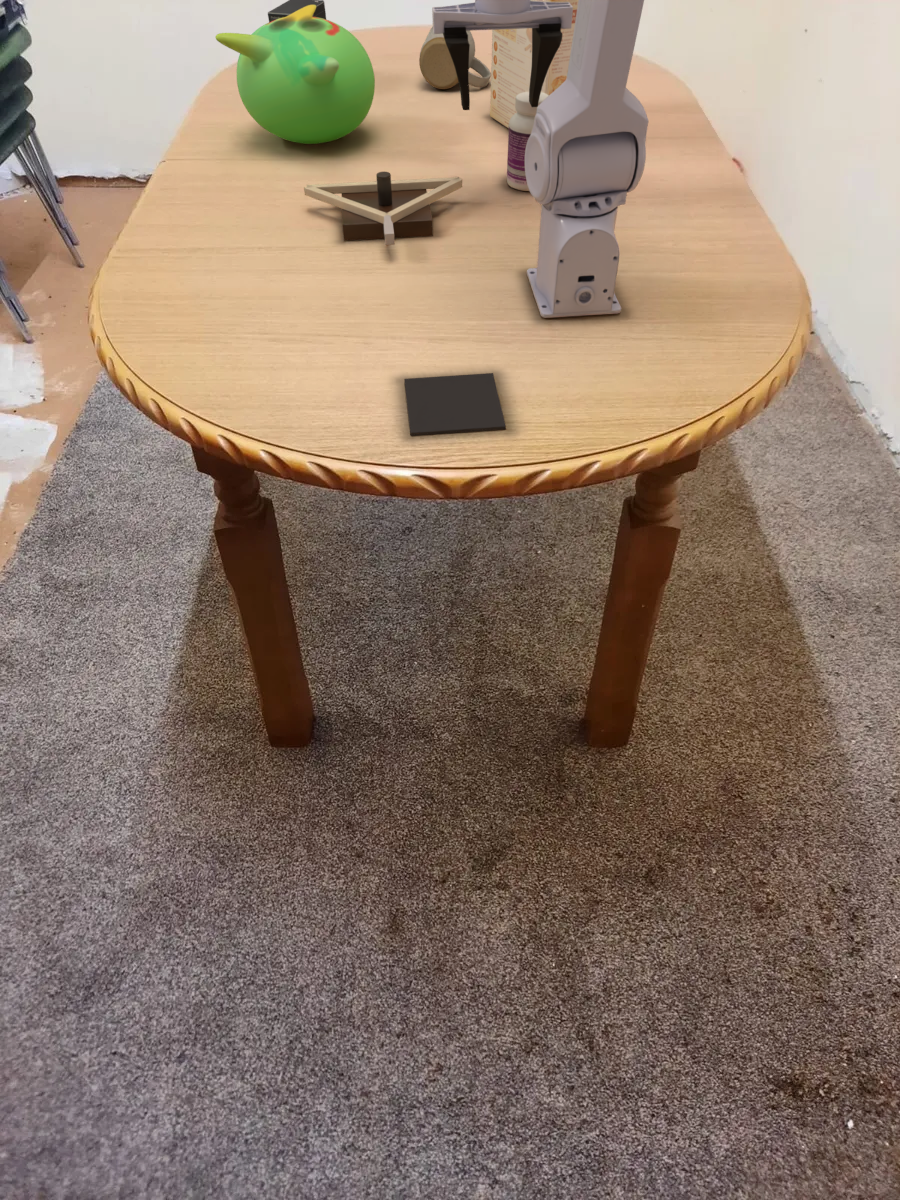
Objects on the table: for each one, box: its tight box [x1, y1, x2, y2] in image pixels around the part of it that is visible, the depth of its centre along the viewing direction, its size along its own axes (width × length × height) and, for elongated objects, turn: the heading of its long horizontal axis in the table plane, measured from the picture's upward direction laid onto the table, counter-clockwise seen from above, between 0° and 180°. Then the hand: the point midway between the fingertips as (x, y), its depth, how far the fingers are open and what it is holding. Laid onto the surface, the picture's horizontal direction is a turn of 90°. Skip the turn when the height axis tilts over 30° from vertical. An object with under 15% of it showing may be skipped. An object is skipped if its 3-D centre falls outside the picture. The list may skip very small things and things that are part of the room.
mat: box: [404, 372, 507, 436], centre depth 71 cm, size 8×8×1 cm
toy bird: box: [215, 5, 376, 145], centre depth 107 cm, size 18×17×15 cm
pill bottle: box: [506, 92, 549, 192], centre depth 99 cm, size 5×5×10 cm
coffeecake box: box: [489, 0, 578, 129], centre depth 107 cm, size 15×7×20 cm, turn 25°
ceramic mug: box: [418, 26, 491, 90], centre depth 125 cm, size 11×8×8 cm
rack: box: [341, 171, 434, 242], centre depth 94 cm, size 10×10×5 cm
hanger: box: [303, 176, 463, 246], centre depth 92 cm, size 19×15×1 cm
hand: (499, 105), depth 92 cm, fingers open, 7 cm apart
